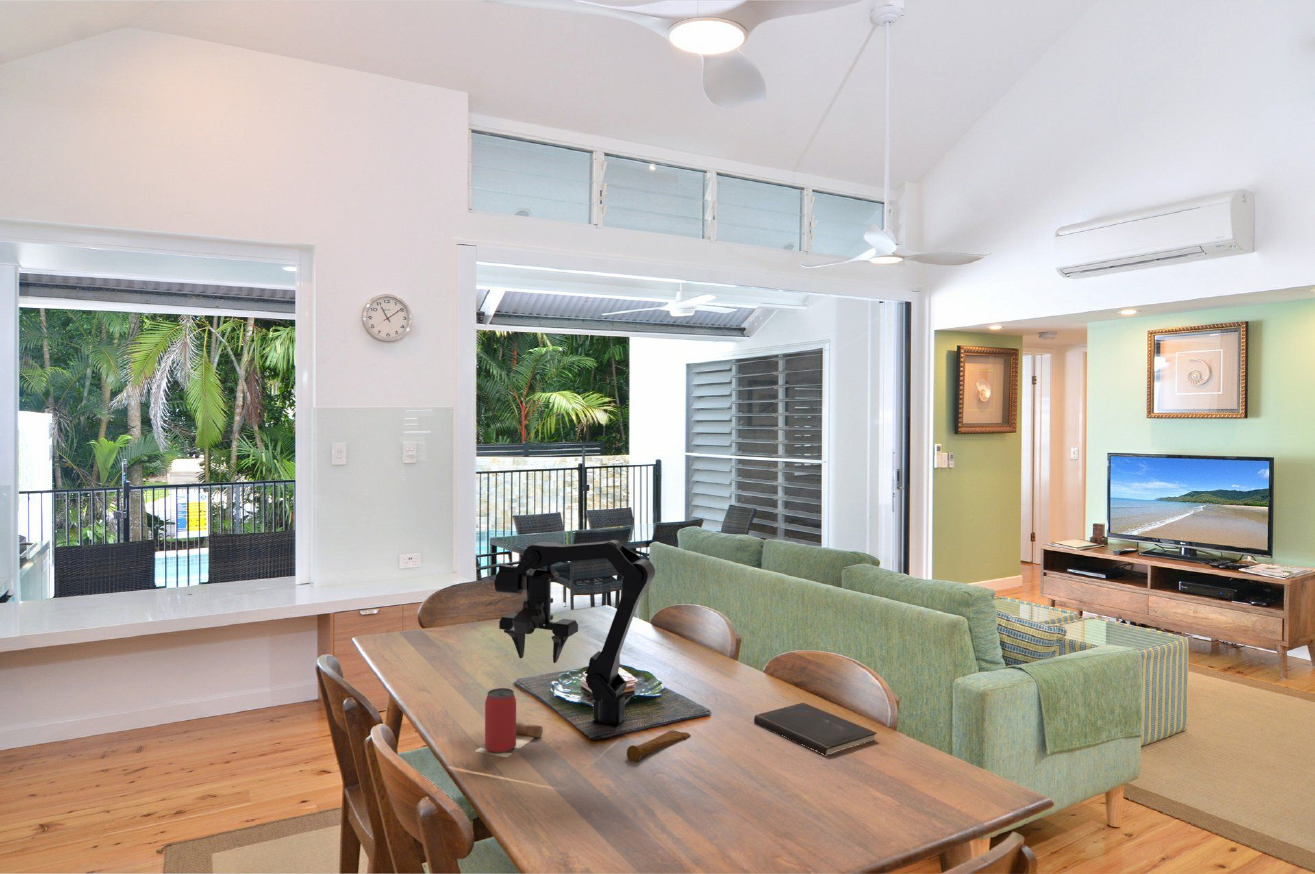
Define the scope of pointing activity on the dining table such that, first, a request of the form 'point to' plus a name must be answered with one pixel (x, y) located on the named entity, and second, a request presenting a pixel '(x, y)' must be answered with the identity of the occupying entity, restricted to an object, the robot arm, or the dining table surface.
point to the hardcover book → (814, 728)
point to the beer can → (500, 720)
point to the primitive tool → (655, 744)
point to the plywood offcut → (520, 742)
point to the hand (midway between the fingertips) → (538, 660)
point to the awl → (529, 729)
